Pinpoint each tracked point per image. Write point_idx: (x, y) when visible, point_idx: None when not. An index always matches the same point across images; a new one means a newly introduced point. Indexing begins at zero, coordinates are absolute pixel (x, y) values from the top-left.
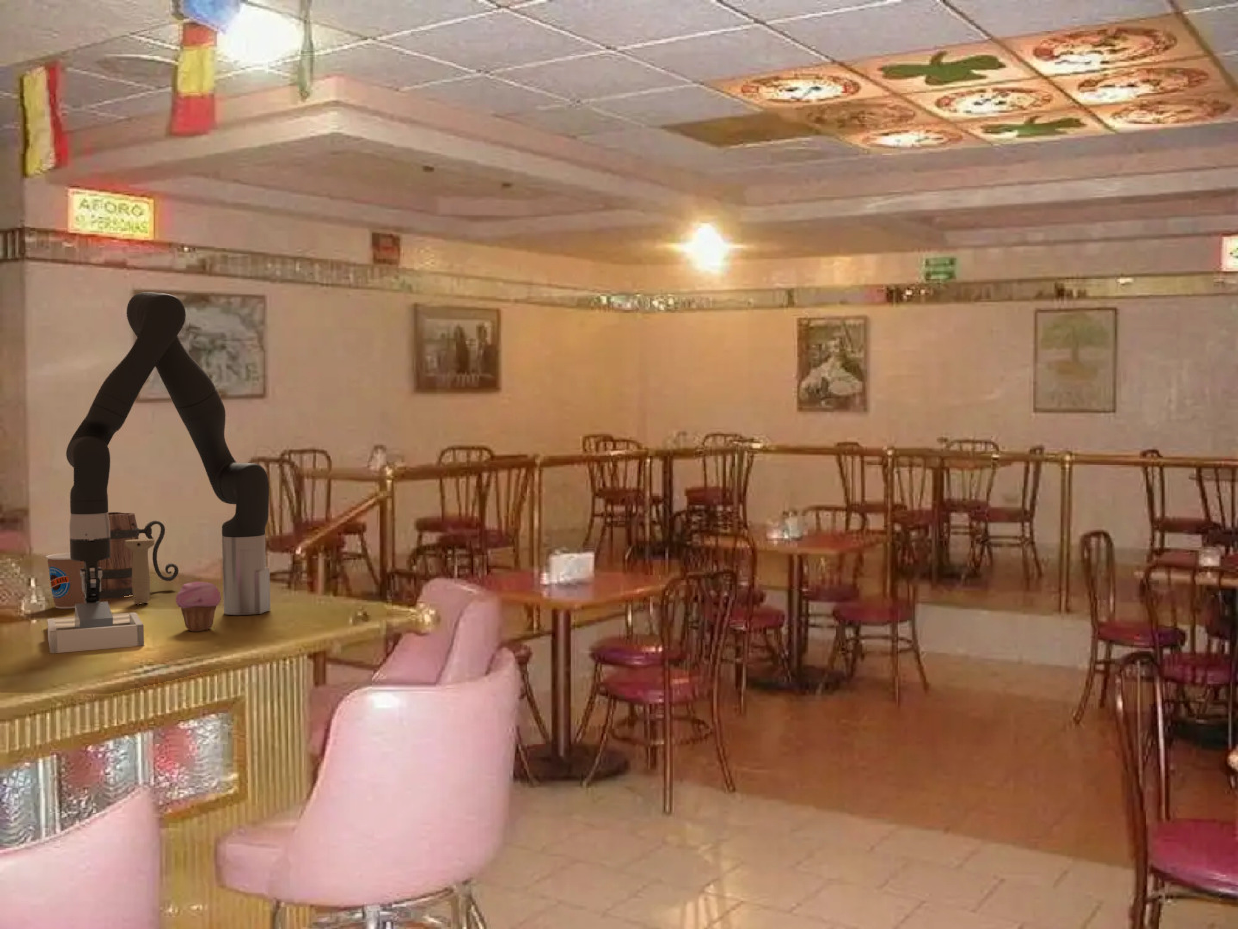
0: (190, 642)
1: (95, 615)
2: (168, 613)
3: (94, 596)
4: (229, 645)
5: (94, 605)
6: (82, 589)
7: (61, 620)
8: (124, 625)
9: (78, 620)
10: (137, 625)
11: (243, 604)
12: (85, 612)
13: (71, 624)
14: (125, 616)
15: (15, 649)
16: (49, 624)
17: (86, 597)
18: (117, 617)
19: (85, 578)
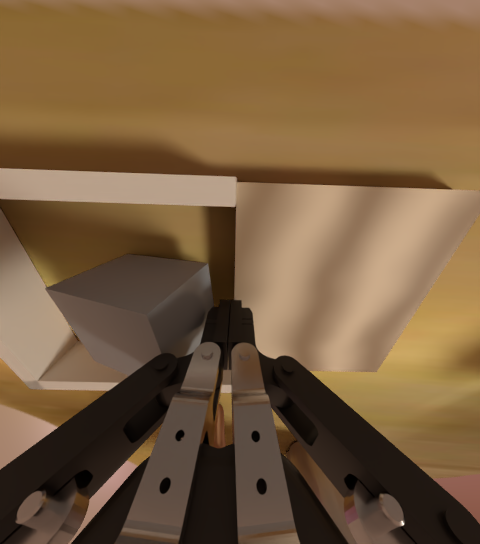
0: (94, 392)
1: (90, 335)
2: (401, 398)
3: (155, 397)
4: (60, 415)
5: (146, 360)
6: (234, 404)
7: (399, 236)
8: (19, 364)
9: (88, 284)
10: (23, 381)
11: (295, 464)
12: (94, 320)
13: (287, 257)
14: (326, 363)
15: (46, 27)
16: (54, 175)
17: (128, 376)
18: (326, 352)
19: (183, 536)
